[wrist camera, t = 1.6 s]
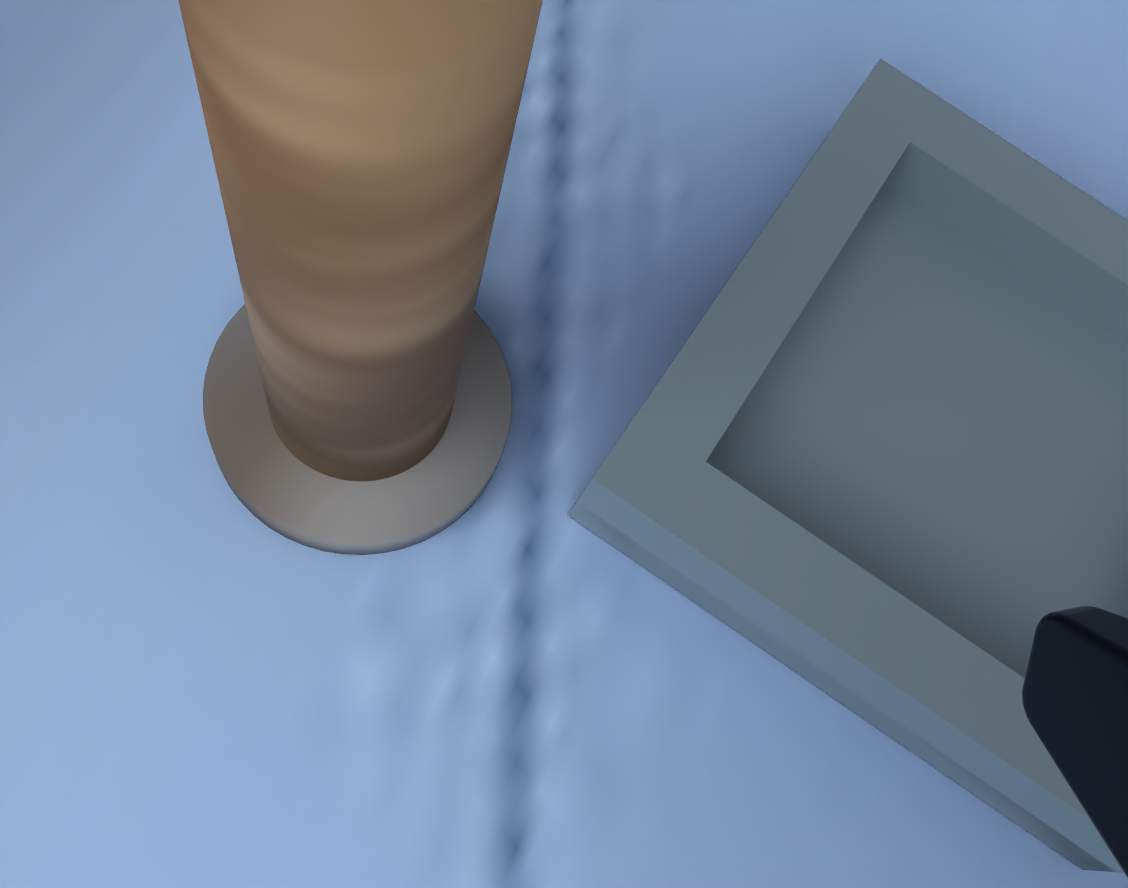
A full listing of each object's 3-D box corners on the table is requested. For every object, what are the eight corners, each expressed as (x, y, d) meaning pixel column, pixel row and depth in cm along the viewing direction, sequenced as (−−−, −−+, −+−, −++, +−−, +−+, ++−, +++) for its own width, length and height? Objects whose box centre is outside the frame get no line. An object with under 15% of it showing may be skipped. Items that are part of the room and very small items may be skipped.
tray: (1261, 406, 26) (1349, 365, 24) (1082, 869, 21) (1170, 875, 19) (835, 125, 27) (880, 58, 24) (567, 515, 22) (592, 478, 20)
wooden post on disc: (559, 388, 23) (782, -101, 11) (393, 614, 21) (439, 316, 8) (333, 233, 23) (303, -411, 11) (144, 440, 21) (-151, -87, 9)
